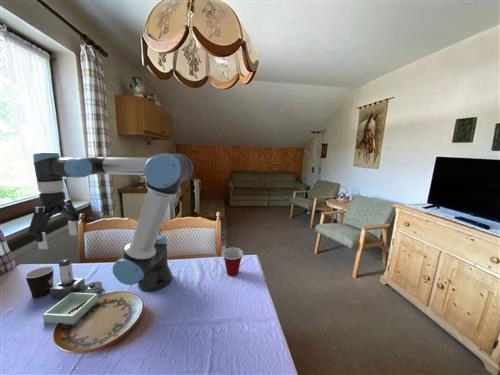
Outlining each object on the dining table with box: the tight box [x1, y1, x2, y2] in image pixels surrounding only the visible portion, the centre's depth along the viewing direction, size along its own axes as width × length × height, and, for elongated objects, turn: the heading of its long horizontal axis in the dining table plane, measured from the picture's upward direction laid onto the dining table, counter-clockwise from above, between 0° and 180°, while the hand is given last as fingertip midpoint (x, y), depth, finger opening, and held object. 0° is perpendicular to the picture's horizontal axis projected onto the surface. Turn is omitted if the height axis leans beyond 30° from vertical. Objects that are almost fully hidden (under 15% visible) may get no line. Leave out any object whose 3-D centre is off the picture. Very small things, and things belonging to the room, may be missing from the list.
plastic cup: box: [222, 247, 244, 277], centre depth 109 cm, size 11×11×12 cm
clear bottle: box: [58, 257, 74, 287], centre depth 90 cm, size 4×4×16 cm
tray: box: [42, 292, 99, 326], centre depth 81 cm, size 11×12×4 cm
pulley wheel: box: [81, 281, 103, 295], centre depth 93 cm, size 7×7×3 cm
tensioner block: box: [50, 276, 86, 301], centre depth 91 cm, size 8×8×5 cm
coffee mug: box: [24, 265, 54, 299], centre depth 92 cm, size 12×9×10 cm
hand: (59, 241), depth 87 cm, fingers open, 13 cm apart
